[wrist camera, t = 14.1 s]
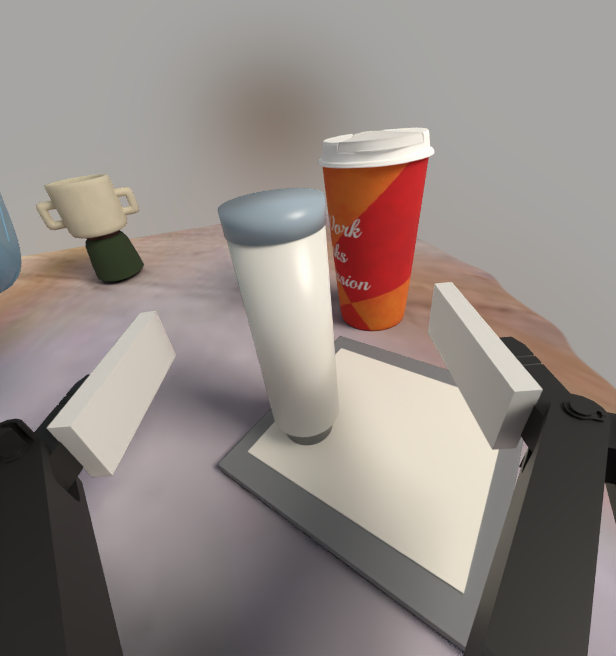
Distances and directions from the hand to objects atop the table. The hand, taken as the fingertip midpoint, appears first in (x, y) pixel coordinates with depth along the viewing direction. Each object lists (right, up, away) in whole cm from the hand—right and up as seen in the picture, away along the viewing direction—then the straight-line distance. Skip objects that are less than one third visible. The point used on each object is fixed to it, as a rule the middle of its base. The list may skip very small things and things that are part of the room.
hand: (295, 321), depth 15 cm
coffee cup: (+7, +1, +15) cm, 17 cm away
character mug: (-26, +7, +31) cm, 41 cm away
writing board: (+5, -7, +4) cm, 10 cm away
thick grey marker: (+1, -6, +5) cm, 8 cm away
